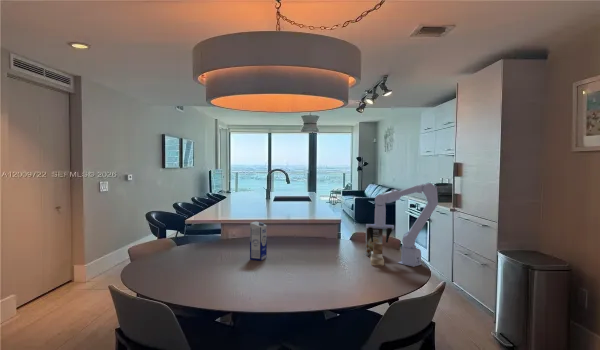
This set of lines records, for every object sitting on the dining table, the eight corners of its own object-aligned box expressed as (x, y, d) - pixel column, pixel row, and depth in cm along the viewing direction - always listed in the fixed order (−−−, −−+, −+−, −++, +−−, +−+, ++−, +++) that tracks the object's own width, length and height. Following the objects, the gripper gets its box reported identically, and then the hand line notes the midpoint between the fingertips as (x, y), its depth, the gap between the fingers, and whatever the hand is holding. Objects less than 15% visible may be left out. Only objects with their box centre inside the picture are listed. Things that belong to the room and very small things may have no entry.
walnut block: (381, 252, 192) (381, 242, 192) (382, 254, 188) (382, 244, 188) (372, 251, 193) (373, 242, 193) (373, 253, 189) (373, 244, 188)
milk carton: (255, 256, 202) (255, 220, 202) (266, 257, 200) (267, 221, 200) (249, 259, 196) (250, 222, 195) (261, 260, 193) (261, 223, 193)
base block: (382, 263, 193) (383, 257, 193) (383, 266, 187) (384, 260, 187) (370, 262, 194) (370, 256, 194) (371, 265, 188) (371, 259, 188)
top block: (381, 257, 193) (381, 251, 193) (382, 260, 188) (382, 254, 188) (371, 256, 194) (371, 251, 194) (371, 259, 189) (371, 253, 189)
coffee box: (366, 255, 207) (366, 227, 207) (365, 253, 214) (365, 226, 214) (382, 256, 207) (382, 228, 206) (381, 253, 213) (381, 226, 213)
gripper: (366, 217, 192) (366, 242, 192) (395, 218, 190) (394, 244, 190) (366, 215, 199) (365, 240, 199) (393, 216, 197) (392, 241, 197)
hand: (379, 241), depth 195 cm, fingers open, 7 cm apart
